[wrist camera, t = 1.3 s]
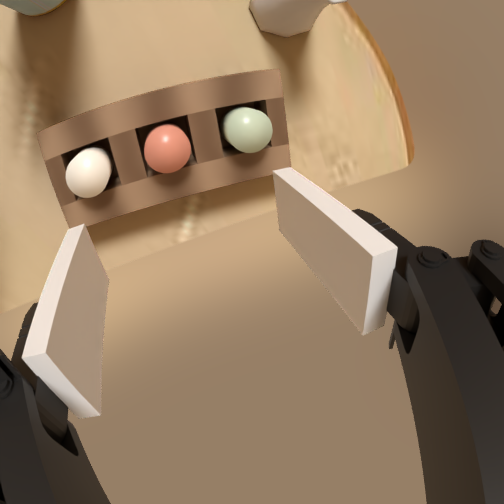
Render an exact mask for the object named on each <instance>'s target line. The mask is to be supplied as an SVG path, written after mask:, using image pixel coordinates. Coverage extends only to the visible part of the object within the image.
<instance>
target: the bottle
mask: <svg viewBox="0 0 504 504" xmlns="http://www.w3.org/2000/svg"><path fill="white" fill-rule="evenodd" d="M65 1H66V0H0V4H2V5H4V6H6V7H9V8H11V9H13V10H16V11H18V12H20V13H23V14H25V15H28V16H40V15H43V14H47V13H49V12H51V11H53V10H55V9H56V8H58V7H59V6H60V5H62V4H63V3H64V2H65Z"/></svg>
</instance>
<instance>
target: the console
mask: <svg viewBox="0 0 504 504" xmlns="http://www.w3.org/2000/svg"><path fill="white" fill-rule="evenodd" d="M237 106H244V107H248V108H252V109H255V110H258V111H261V112H263V113H264V114H265V115H267V117H268V118H269V119H270V121H271V124H272V129H273V131H272V137H271V139H270V141H269V143H268V144H267V145H266V146H265V147H264V148H263V149H262V150H260V151H258V152H254V153H245V152H242V151H239V150H238V149H236V148H235V147H234V146H233V145H231V144H230V143H229V142H228V141H226V140H225V138H224V137H223V136H222V133H221V130H220V123H221V119H222V117H223V115H224V114H225V113H226V112H227V111H228V110H229V109H231V108H234V107H237ZM161 123H173V124H175V125H177V126H179V127H180V128H181V129H182V130H183V131H184V133H185V135H186V136H187V138H188V139H189V142H190V145H191V154H190V157H189V159H188V161H187V163H186V164H185V165H184V166H183V167H182V168H181V169H179V170H178V171H175V172H172V173H160V172H157V171H155V170H154V169H152V168H151V167H150V166H149V165H148V163H147V161H146V159H145V155H144V148H145V141H146V137H147V135H148V133H149V131H150V130H151V129H152V128H153V127H155V126H156V125H158V124H161ZM36 134H37V138H38V141H39V145H40V148H41V151H42V155H43V158H44V161H45V164H46V167H47V170H48V173H49V176H50V179H51V182H52V185H53V187H54V190H55V193H56V196H57V198H58V201H59V203H60V206H61V209H62V211H63V214H64V216H65V219H66V221H67V223H68V226H69V228H73V227H76V226H79V225H82V224H85V225H86V227H87V226H90V225H93V224H96V223H99V222H102V221H105V220H108V219H111V218H114V217H118V216H121V215H124V214H127V213H130V212H134V211H137V210H140V209H144V208H147V207H150V206H154V205H157V204H160V203H164V202H167V201H171V200H174V199H178V198H182V197H185V196H189V195H192V194H196V193H200V192H204V191H207V190H211V189H215V188H219V187H223V186H227V185H231V184H235V183H239V182H243V181H247V180H251V179H256V178H260V177H264V176H269V175H273V171H274V170H279V169H283V168H288V167H291V160H290V151H289V141H288V132H287V123H286V115H285V106H284V98H283V90H282V83H281V75H280V69H271V70H260V71H252V72H245V73H238V74H231V75H225V76H220V77H214V78H209V79H203V80H198V81H194V82H189V83H184V84H180V85H175V86H171V87H167V88H163V89H159V90H155V91H151V92H148V93H144V94H141V95H137V96H134V97H130V98H127V99H124V100H120V101H117V102H114V103H111V104H108V105H105V106H102V107H99V108H96V109H93V110H91V111H88V112H85V113H82V114H80V115H77V116H74V117H72V118H69V119H67V120H64V121H62V122H59V123H57V124H55V125H52V126H50V127H48V128H46V129H44V130H42V131H40V132H38V133H36ZM92 145H97V146H101V147H103V148H105V149H106V150H107V151H108V152H109V153H110V154H111V156H112V159H113V170H112V173H111V175H110V178H109V180H108V183H107V185H106V187H105V188H104V190H103V191H102V192H101V193H100V194H98V195H97V196H94V197H91V198H83V197H79V196H77V195H76V194H74V193H73V192H72V191H71V190H70V189H69V187H68V185H67V182H66V170H67V167H68V165H69V163H70V162H71V161H72V160H73V159H74V158H75V157H76V155H77V154H78V153H79V152H80V151H81V150H83V149H84V148H86V147H88V146H92Z"/></svg>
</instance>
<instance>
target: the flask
mask: <svg viewBox="0 0 504 504" xmlns="http://www.w3.org/2000/svg"><path fill="white" fill-rule="evenodd" d="M347 1H348V0H251V1H250V4H249V8H250V10H251V12H252V14H253V16H254V18H255V20H256V22H257V24H258V26H259V28H260V30H262V31H266V32H269V33H273V34H276V35H280V36H283V37H286V38H287V37H290V36H293V35H296V34H299V33H303V32H306V31H309V30H310V29H311V28H312V26H313V24H314V22H315V21H316V19H317V17H318V16H319V14H320V13H321V11H322V10H323V8H325V7H326V6H327V5H329V4H337V3H342V2H347Z"/></svg>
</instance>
